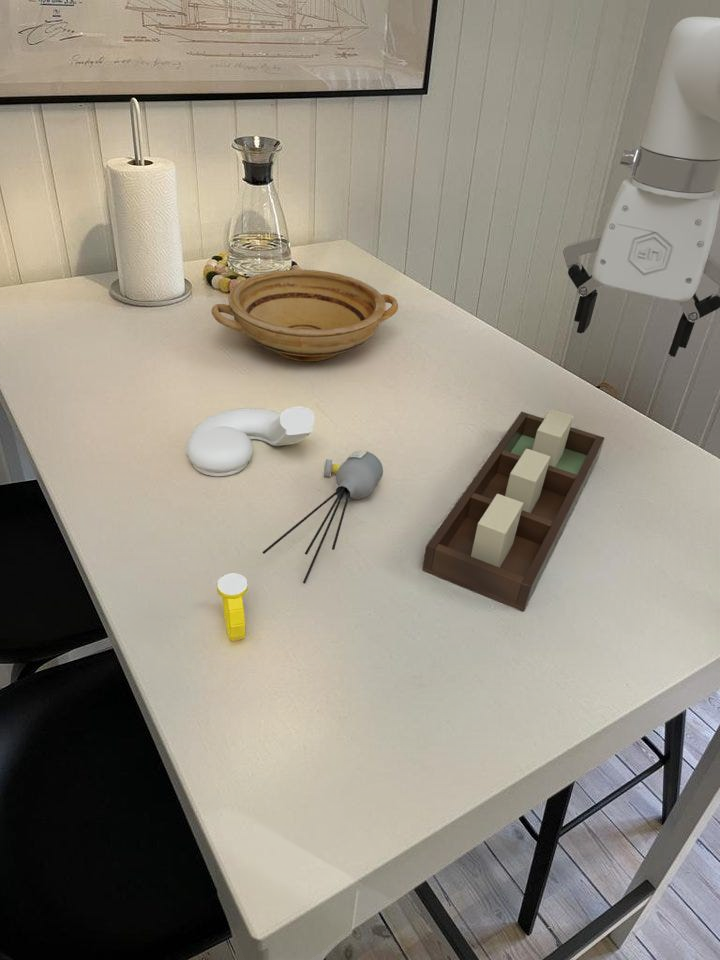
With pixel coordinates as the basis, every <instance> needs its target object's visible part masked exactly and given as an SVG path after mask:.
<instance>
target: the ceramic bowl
mask: <svg viewBox="0 0 720 960" xmlns="http://www.w3.org/2000/svg"><path fill="white" fill-rule="evenodd" d="M228 293H229V295H228V304H225V303H216V304H214V305H213V306H212V308H211V315H212V317H213V318H214V319H215V320H216V322H217V323H219V324H220V325H223V326H225V327H227V328H229V329H231V330H235V331H237V332H239V333H242V334H244V335H245V336H247V337H248V338H249V340H251V341H253V342H254V343H255V344H257V345H259V346H261V347H263V348H266V349H267V350H270V351H273V352H275V353H277V354H278V355H280V356H282V357H283V358H287V359H290V360H293V361H299V362H300V361H301V362H317V361H318V362H319V361H323V360H324V361H325V360H328V359H331V358H333V357H335V356H336V355H338V354H343V353H346V352H349V351H351V350H354V349H355V348H358V347H360V346H362V345H363V344H364V343H365V342H366V341H368V340H369V339H370V338H371V337H372V336H373V335H374V333H375V332H376V330H377V329H378V328H379V325H380V324H381V323H383V322H385V321H386V320H388V319H390V318H391V317H393V316H394V315H395V314H396V313H397V312H398V310H399V302H398V300H397V299H396V298H395V297H394V296H393V295H389V294H387V293H386V294H384V293H383V294H381V293H380V291H378V290H377V289H376V288H375V287H373V286H372V285H370V284H368V283H367V282H364V281H362V280H360V279H358V278H354V277H352V276H348V275H344V274H340V273H336V272H331V271H325V270H317V269H316V270H315V269H284V270H283V269H282V270H274V271H268V272H263V273H259V274H256V275H253V276H249V277H247V278H245V279H244V280H241V281H240V282H238V283H237V284H236V285H234V286H233V287H232V288H231V290H230V292H228ZM386 303H387V304H390V305H391V306H390V307H389V308H388V309H386V308H387V304H386ZM222 313H223V314H227V315H230V316H233V318H234V320H232V319H230V318H228V317H226V316H225V315H223V314H222Z"/></svg>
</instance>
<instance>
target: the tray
mask: <svg viewBox="0 0 720 960" xmlns="http://www.w3.org/2000/svg"><path fill="white" fill-rule="evenodd" d="M544 419H545V418H544V417H540V416H539V415H538V416H537V415H534V414H531V413H528V412H525V411H520V413H519V414H518V415H517V417H516V418H515V420H514V421H513V423H512V424H511V425H510V427H508V429H507V431H506V432H505V434H504V435H503V437H502V438H501V440H500V441H499V442H498V444H497V445H496V447H495V448H494V449H493V451H492V452H491V454H490V455H489V457H488V458H487V459H486V461H485V462H484V463H483V465H482V466H481V468H480V469H479V470H478V471H477V473H476V475H475V476H474V477H473V479H472V480H471V481H470V483H469V484H468V486H467V487H466V489H465V490H464V492H463V493H462V495H461V496H460V497H459V499H458V500H457V502H456V503H455V504H454V506H453V507H452V508H451V510H450V511H449V513H448V514H447V515H446V517H445V519H444V520H443V521H442V522H441V524H440V526H439V527H438V528H437V530H436V531H435V533H434V534H433V535H432V537H431V538H430V539H429V540H428V542H427V544H426V545H425V550H424V557H423V563H422V572H425V573H427V574H430V575H432V576H434V577H437V578H440V579H441V580H445V581H446V582H449V583H451V584H454V585H457V586H459V587H462V588H464V589H467V590H469V591H472V592H473V593H477V594H479V595H481V596H485V597H486V598H489V599H491V600H494V601H496V602H499V603H502V604H504V605H506V606H509V607H511V608H513V609H516V610H518V611H520V612H525V611H526V609H527V607H528V605H529V602H530V601H531V598H532V596H533V594H534V592H535V591H536V589H537V586H538V584H539V582H540V580H541V578H542V576H543V575H544V572H545V570H546V568H547V566H548V564H549V561H550V559H551V557H552V555H553V553H554V551H555V549H556V547H557V545H558V543H559V541H560V539H561V537H562V535H563V532H564V530H565V528H566V526H567V524H568V522H569V520H570V519H571V516H572V514H573V512H574V510H575V508H576V506H577V504H578V501H579V499H580V498H581V496H582V493H583V491H584V489H585V487H586V485H587V484H588V482H589V479H590V477H591V476H592V473H593V471H594V469H595V467H596V464H597V463H598V460H599V458H600V455H601V452H602V449H603V445H604V442H605V440H606V439H605V437H604V436H601V435H598V434H595V433H591V432H589V431H585V430H583V429H579V428H575V427H572V426H571V427H570V431H569V434H568V438H567V441H566V445H565V448H564V452H563V455H562V457H561V458H560V460H559V462H558V464H557V465H556V467H553V466H550V465H548V468H547V472H546V476H545V479H544V483H543V487H542V490H541V494H540V497H539V499H538V501H537V502H536V504H535V506H534V508H533V510H532V511H531V513H529V512H526V511H523V510H522V511H521V515H520V519H519V523H518V526H517V530H516V534H515V538H514V542H513V545H512V547H511V549H510V551H509V552H508V554H507V556H506V558H505V559H504V561H503V563H502V565H501V567H497V566H494V565H492V564H489V563H487V562H484V561H482V560H479V559H476V558H474V557H471V553H472V549H473V544H474V539H475V535H476V530H477V525H478V523H479V521H480V519H481V518H482V516H483V515H484V513H485V512H486V510H487V509H488V507H489V506H490V504H491V502H492V501H493V499H494V498H495V496H496V495H497V494H500V495H503V496H505V493H506V489H507V485H508V481H509V477H510V473H511V471H512V470H513V468H514V467H515V465H516V464H517V462H518V461H519V459H520V457H521V456H522V454H523V453H524V451H525V450H526V449H530V450H532V449H533V445H534V441H535V437H536V433H537V430H538V428H539V427H540V425H541V424H542V422H543V420H544Z"/></svg>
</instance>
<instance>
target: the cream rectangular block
mask: <svg viewBox="0 0 720 960" xmlns="http://www.w3.org/2000/svg"><path fill="white" fill-rule="evenodd" d="M573 419H574V415H572V414H569V413H565V412H562V411H558V410H557V409H556V410H555V409H552V408H550V409H549V411H548V413H547V414H546V416H545V418H544V420H543V422H542V424H541V425H540V427H539V428H538V430H537V433H536V437H535V441H534V445H533V449H532V450H533V451H536V452H539V453H542V454H545V455H548V456H550V461H549V465H550V466H553V467H556V465H557V464H558V462H559V460H560V458H561V457H562V455H563V452H564V448H565V445H566V441H567V438H568V434H569V431H570V427H572V423H573Z"/></svg>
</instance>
